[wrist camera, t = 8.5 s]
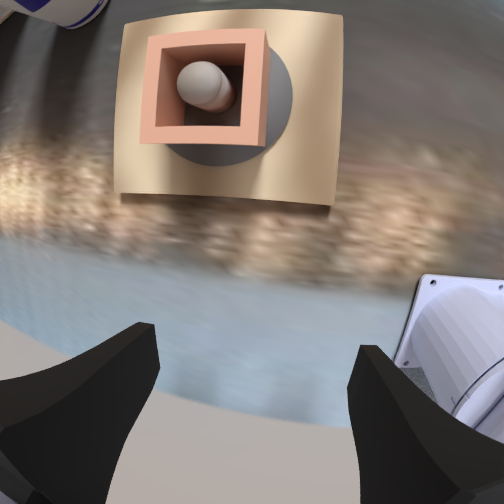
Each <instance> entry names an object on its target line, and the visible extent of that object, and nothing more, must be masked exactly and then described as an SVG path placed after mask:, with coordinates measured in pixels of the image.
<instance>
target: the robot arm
mask: <svg viewBox="0 0 504 504" xmlns="http://www.w3.org/2000/svg"><path fill="white" fill-rule="evenodd" d="M432 280H434V283H433V284H430V282H431V281H432ZM500 285H501V286H500ZM499 286H500V288H499ZM406 361H407V362H406ZM404 362H406V363H404ZM420 367H422V369H423V371H424V373H425V376H426V378H427V380H428V382H429V384H430V386H431V389H432V391H433V393H434V395H435V397H436V400H437V402H438V404H439V405H437V404H436V403H435V402H434V401H432V400H431V399H430V398H429V397H428V396H427V395H426V394H425V393H423V392H422V391H421V390H420V389H419V388H418V387H417V386H416V385H415V384H414V383H413V382H412V381H411V380H410V379H409V378H408V377H407V376H406V375H405V374H404V373H403V372H402V371H401V370H400V369H399V368H420ZM159 370H160V363H159V356H158V349H157V342H156V335H155V327H154V324H149V323H143V322H138V323H136V324H134V325H132V326H130V327H128V328H127V329H125V330H123V331H121V332H120V333H118V334H116V335H115V336H113V337H111V338H109V339H108V340H106V341H104V342H103V343H101V344H99V345H97V346H96V347H94V348H92V349H90V350H88V351H86V352H84V353H82V354H80V355H78V356H76V357H74V358H72V359H70V360H68V361H66V362H63V363H61V364H59V365H56V366H53V367H51V368H48V369H45V370H42V371H39V372H36V373H32V374H29V375H26V376H22V377H17V378H12V379H7V380H1V381H0V504H105V503H106V499H107V495H108V491H109V488H110V484H111V480H112V477H113V474H114V471H115V468H116V465H117V461H118V459H119V456H120V453H121V451H122V448H123V445H124V443H125V441H126V438H127V436H128V434H129V432H130V430H131V429H132V427H133V425H134V423H135V421H136V419H137V418H138V416H139V414H140V412H141V410H142V408H143V406H144V405H145V403H146V401H147V399H148V397H149V395H150V393H151V391H152V389H153V387H154V384H155V381H156V379H157V376H158V373H159ZM347 394H348V408H349V415H350V420H351V426H352V431H353V436H354V440H355V446H356V451H357V457H358V463H359V471H360V494H361V496H360V503H361V504H504V280H494V279H481V278H468V277H456V276H443V275H431V274H425V275H423V276H422V277H421V279H420V281H419V285H418V289H417V292H416V296H415V300H414V303H413V307H412V310H411V313H410V317H409V320H408V323H407V326H406V329H405V332H404V335H403V338H402V341H401V344H400V347H399V350H398V352H397V355H396V358H395V361H394V363H393V362H392V360H391V359H390V358H389V357H388V356H387V355H386V354H385V353H384V352H383V351H382V350H381V349H380V348H379V347H378V346H377V345H360V348H359V351H358V355H357V358H356V361H355V364H354V368H353V371H352V374H351V377H350V380H349V383H348V386H347Z"/></svg>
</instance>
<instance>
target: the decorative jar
mask: <svg viewBox="0 0 504 504" xmlns="http://www.w3.org/2000/svg"><path fill="white" fill-rule="evenodd" d="M14 12H15V11H14V10H10V9H7V8H3V7H0V24H1V23H2V22H4V21H5V20H6V19H7V18H8V17H9V16H10V15H11V14H12V13H14Z"/></svg>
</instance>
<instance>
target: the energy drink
mask: <svg viewBox="0 0 504 504" xmlns="http://www.w3.org/2000/svg"><path fill="white" fill-rule="evenodd" d="M107 2H108V0H0V7H3V8H7V9H10V10H14V11H17V12H20V13H24V14H27V15H30V16H33V17H36V18H39V19H42V20H45V21H48V22H51V23H53V24H56V25H59V26H61V27H64V28H67V29H74V28H78V27H81V26H83V25H85V24H86V23H88V22H90V21H91V20H92V19H94V18H95V17H96V16H97V15H98V14H99V13H100V12H101V11H102V9H103V8H104V7H105V5H106V3H107Z"/></svg>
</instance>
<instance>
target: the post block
mask: <svg viewBox="0 0 504 504" xmlns="http://www.w3.org/2000/svg"><path fill="white" fill-rule="evenodd" d="M243 28H254V29H265V31H266V35H267V40H268V44H269V48H270V53H271V59H270V76H269V92H268V108H267V124H266V140H265V147H263V146H246V145H221V144H140V121H141V105H142V91H143V80H144V70H145V61H146V52H147V44H148V37H149V36H156V35H163V34H170V33H178V32H188V31H199V30H213V29H243ZM243 75H244V66H239V65H234V66H216V65H214V64H213V63H210V62H205V61H200V62H194V63H191V64H189V65H187V66H186V67H185V68H184V69H183V70H182V71H181V72H180V74H179V76H178V79H177V89H178V93H179V95H180V97H181V98H182V99H183V100H184V101H185V113H184V126H238V127H240V121H241V105H242V90H243ZM342 86H343V16H342V15H335V14H328V13H319V12H309V11H296V10H276V9H237V10H217V11H204V12H194V13H186V14H178V15H171V16H164V17H158V18H153V19H147V20H142V21H137V22H133V23H128V24H125V27H124V33H123V40H122V47H121V54H120V62H119V71H118V81H117V93H116V107H115V127H114V193H149V194H179V195H201V196H220V197H236V198H251V199H264V200H277V201H289V202H300V203H311V204H321V205H331V206H334V201H335V191H336V181H337V170H338V158H339V144H340V129H341V111H342Z"/></svg>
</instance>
